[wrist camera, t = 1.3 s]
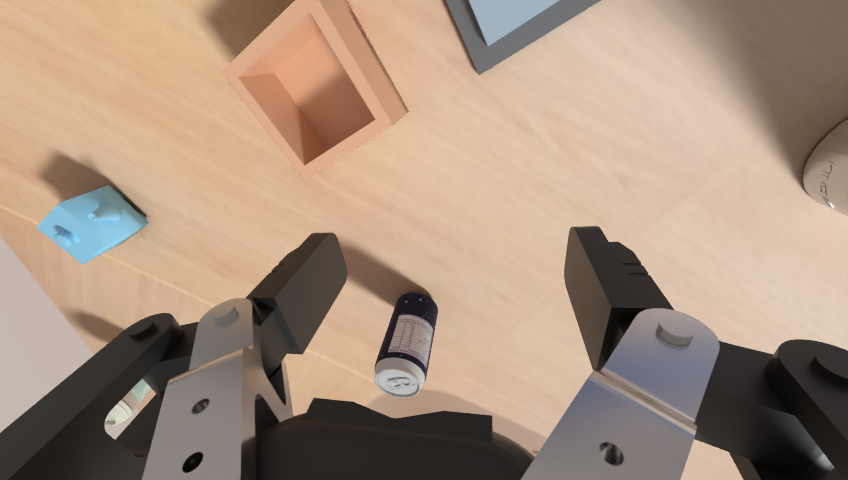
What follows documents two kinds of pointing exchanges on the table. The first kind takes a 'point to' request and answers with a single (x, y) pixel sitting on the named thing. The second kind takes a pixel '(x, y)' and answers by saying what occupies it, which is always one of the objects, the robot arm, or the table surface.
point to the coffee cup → (127, 404)
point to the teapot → (92, 223)
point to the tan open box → (316, 84)
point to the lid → (505, 15)
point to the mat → (541, 24)
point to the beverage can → (407, 346)
